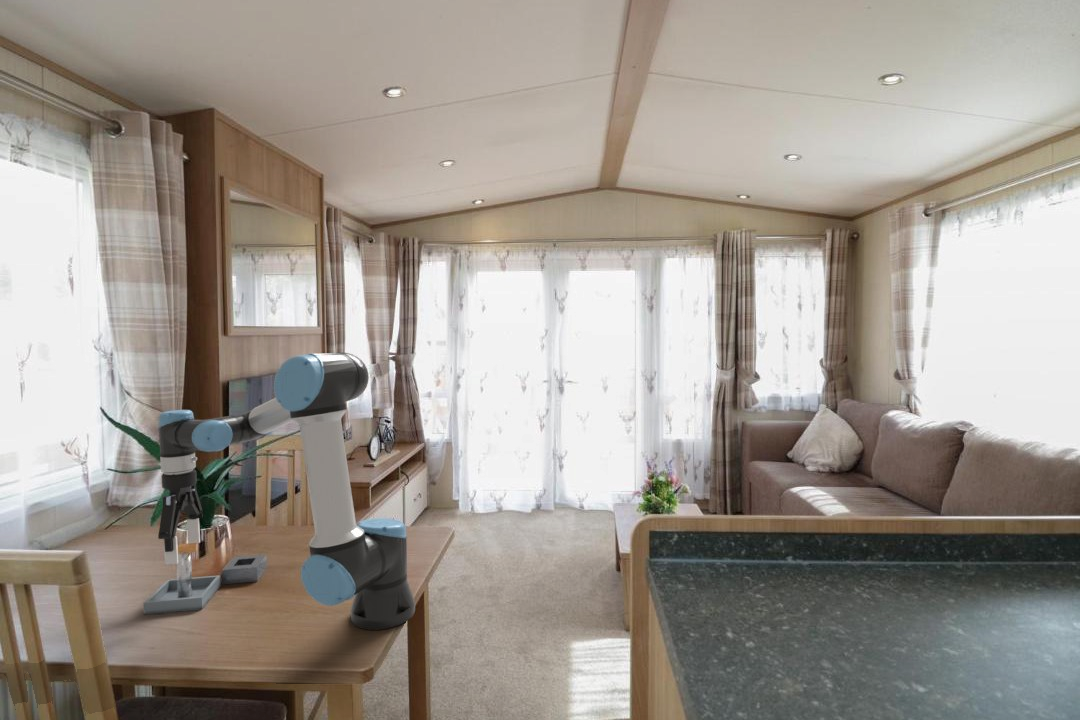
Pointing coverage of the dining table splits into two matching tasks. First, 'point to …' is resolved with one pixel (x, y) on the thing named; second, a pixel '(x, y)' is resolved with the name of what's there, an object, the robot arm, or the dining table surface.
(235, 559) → the block
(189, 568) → the t key
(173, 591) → the tray
